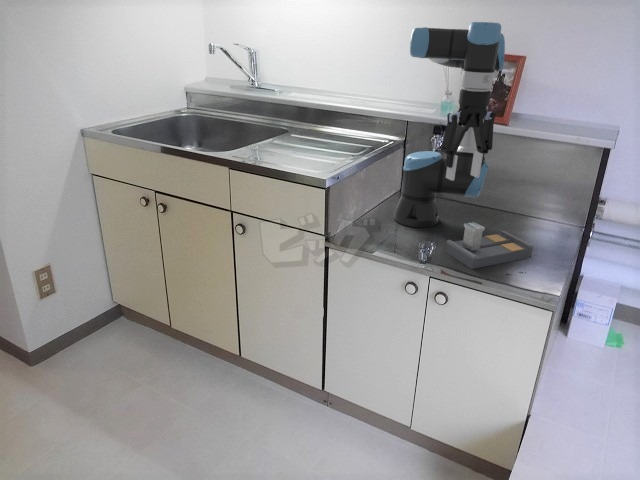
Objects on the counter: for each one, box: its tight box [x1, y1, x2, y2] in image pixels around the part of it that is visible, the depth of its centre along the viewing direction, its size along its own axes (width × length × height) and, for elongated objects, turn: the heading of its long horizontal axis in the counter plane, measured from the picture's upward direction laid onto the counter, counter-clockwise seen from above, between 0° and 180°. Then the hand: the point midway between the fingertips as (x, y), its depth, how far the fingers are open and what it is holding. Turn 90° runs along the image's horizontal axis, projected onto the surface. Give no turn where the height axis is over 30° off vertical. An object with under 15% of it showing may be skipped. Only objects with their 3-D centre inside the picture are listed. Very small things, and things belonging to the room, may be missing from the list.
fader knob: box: [462, 221, 486, 251], centre depth 147 cm, size 5×4×7 cm
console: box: [445, 230, 534, 270], centre depth 152 cm, size 12×22×4 cm, turn 114°
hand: (462, 177), depth 137 cm, fingers open, 8 cm apart
